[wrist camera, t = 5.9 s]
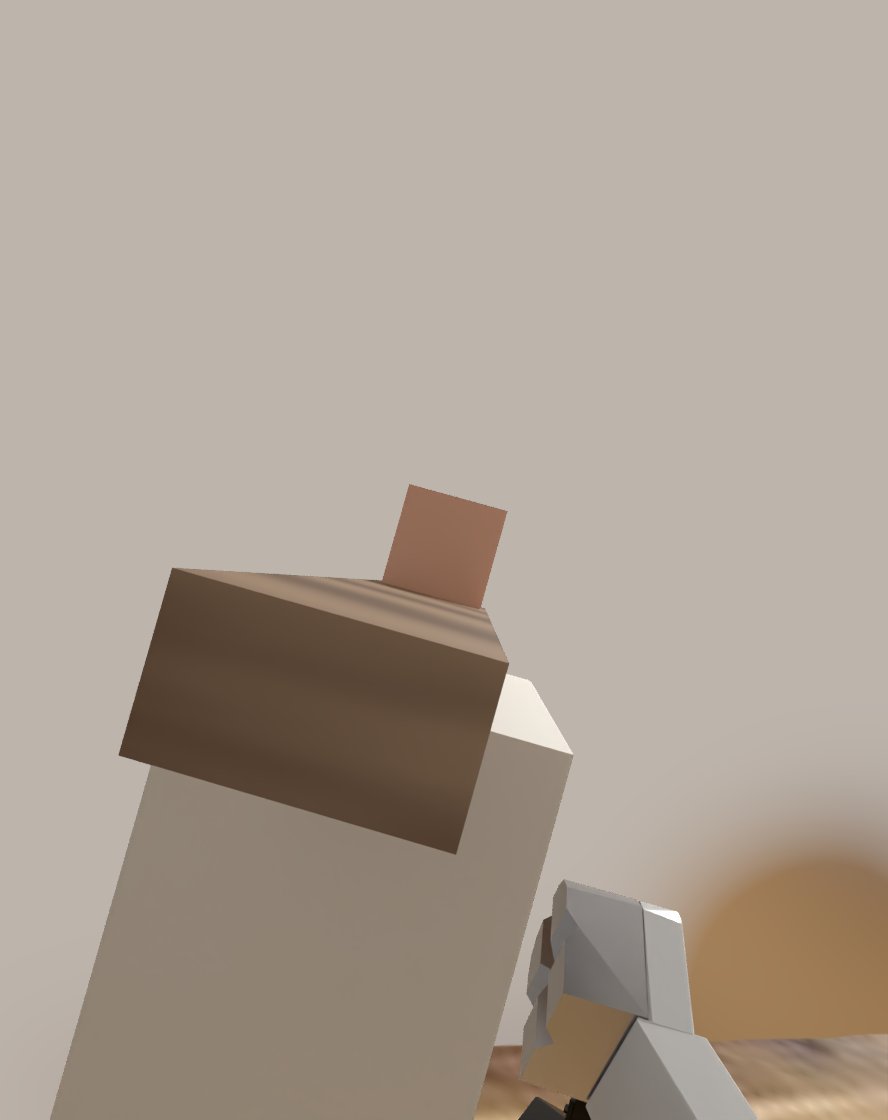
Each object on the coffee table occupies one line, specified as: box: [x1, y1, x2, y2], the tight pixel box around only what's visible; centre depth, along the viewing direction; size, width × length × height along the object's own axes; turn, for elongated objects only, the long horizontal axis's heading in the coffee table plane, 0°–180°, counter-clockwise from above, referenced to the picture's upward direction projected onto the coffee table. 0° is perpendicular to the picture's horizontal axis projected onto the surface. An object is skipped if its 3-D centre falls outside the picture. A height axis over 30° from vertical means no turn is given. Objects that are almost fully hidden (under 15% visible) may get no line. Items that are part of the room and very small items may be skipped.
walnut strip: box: [119, 568, 509, 855], centre depth 24 cm, size 26×4×2 cm, turn 177°
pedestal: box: [50, 674, 573, 1120], centre depth 28 cm, size 16×10×26 cm, turn 177°
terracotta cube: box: [382, 484, 507, 609], centre depth 35 cm, size 4×4×4 cm
